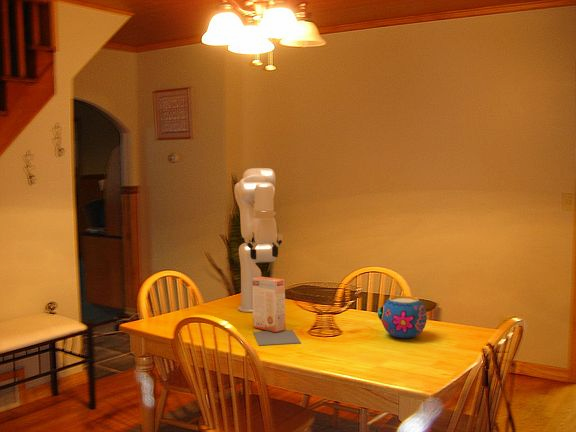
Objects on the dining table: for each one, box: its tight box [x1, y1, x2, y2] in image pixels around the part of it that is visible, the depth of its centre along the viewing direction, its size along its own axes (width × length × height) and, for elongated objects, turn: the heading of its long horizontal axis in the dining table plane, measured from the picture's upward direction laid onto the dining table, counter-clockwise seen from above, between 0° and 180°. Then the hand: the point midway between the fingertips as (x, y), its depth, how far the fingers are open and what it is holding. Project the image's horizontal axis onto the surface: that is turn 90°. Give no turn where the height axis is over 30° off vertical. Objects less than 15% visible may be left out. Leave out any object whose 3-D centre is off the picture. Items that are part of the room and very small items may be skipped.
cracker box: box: [252, 276, 286, 332], centre depth 238 cm, size 14×6×21 cm, turn 43°
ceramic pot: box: [377, 295, 428, 339], centre depth 228 cm, size 18×18×15 cm
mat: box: [252, 329, 302, 347], centre depth 227 cm, size 18×16×1 cm
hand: (264, 257), depth 232 cm, fingers open, 9 cm apart
